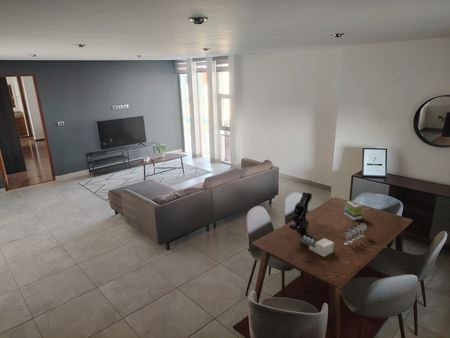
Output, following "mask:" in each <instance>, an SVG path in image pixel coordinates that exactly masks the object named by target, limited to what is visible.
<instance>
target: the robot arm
mask: <svg viewBox="0 0 450 338" xmlns="http://www.w3.org/2000/svg"><path fill="white" fill-rule="evenodd" d="M312 199H313V194H312V193H311V192H302V195H301V198H300V199H299V201H298V202H297V203H296V204H295V206H294V208H293V209H294V210H293V213H294V216H293V217H292V221H293V222H294V223H293V224H290V225H289V229H291V230H292V231H296V232H297V234H301V235H306V234H307V233H308V231H307V229H308V228H309V221H308V220H307V219H308V218H307V214H308V210H309V209H308V208H309V203H310V202H311V201H312Z"/></svg>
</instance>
